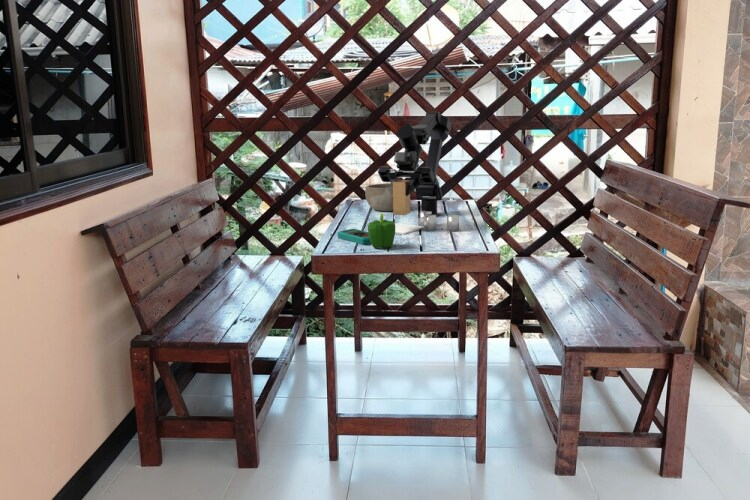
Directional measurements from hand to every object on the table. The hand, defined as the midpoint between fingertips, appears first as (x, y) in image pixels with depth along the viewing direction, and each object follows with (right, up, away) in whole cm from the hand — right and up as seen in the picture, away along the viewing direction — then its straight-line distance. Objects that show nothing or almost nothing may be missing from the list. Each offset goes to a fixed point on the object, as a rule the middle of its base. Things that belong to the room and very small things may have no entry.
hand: (400, 194), depth 215 cm
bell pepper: (-6, -17, -17) cm, 25 cm away
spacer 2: (+10, -11, +5) cm, 16 cm away
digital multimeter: (-13, -16, -7) cm, 22 cm away
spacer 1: (+9, -10, +12) cm, 18 cm away
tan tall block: (+1, -6, +3) cm, 7 cm away
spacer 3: (+18, -12, +3) cm, 22 cm away
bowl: (-3, -2, +46) cm, 46 cm away
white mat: (-1, -11, +8) cm, 13 cm away
